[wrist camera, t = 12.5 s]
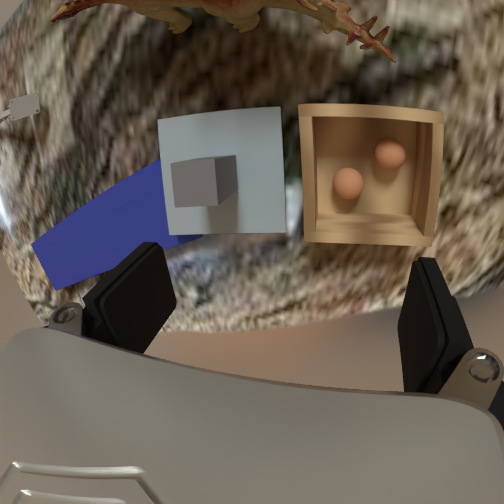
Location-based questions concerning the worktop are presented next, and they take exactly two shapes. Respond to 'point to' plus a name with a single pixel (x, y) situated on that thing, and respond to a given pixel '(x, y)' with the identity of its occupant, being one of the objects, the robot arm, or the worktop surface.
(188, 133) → the lid
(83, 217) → the long blue plank
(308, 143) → the pine box
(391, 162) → the rust ball
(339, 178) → the rust ball
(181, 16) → the toy
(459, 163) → the worktop surface
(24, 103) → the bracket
